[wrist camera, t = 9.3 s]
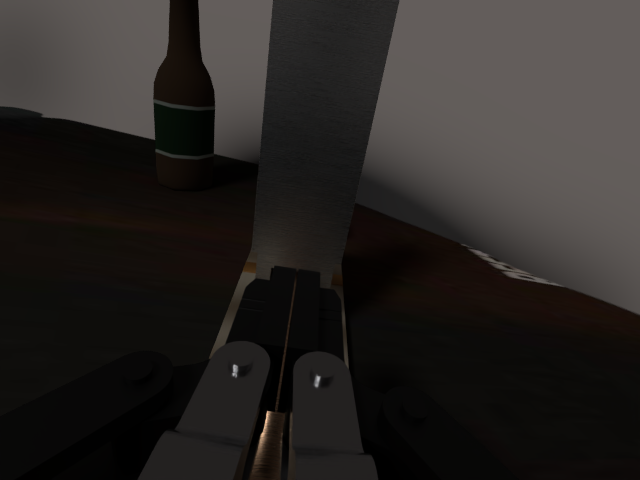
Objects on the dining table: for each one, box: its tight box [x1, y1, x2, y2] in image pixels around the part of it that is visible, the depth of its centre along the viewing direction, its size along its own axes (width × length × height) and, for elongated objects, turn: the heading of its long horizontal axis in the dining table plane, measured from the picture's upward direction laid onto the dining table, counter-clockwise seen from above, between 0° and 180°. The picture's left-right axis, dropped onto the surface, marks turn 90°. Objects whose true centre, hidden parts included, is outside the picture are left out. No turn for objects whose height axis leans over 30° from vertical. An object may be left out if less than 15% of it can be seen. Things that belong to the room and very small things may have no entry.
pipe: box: [250, 271, 298, 480], centre depth 26 cm, size 32×3×3 cm, turn 179°
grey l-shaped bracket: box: [252, 0, 399, 289], centre depth 24 cm, size 6×6×20 cm
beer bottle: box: [153, 0, 215, 191], centre depth 46 cm, size 8×8×24 cm
